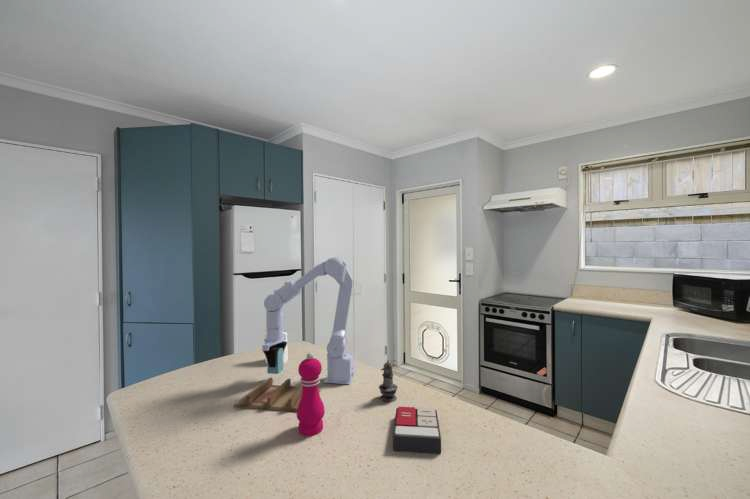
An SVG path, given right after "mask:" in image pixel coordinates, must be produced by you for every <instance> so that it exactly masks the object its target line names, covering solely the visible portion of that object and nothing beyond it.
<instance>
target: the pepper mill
mask: <svg viewBox="0 0 750 499" xmlns="http://www.w3.org/2000/svg"><path fill="white" fill-rule="evenodd" d="M322 369H323V368H322V363H321V361H320V360H319V359H317V358H314V353H312V352H307V354H306V358H305V359H303V360H301V361H300V363H299V365H298V375H299V376H300V377H301V378H299V380H300V386H301V385H302V389H303V390H302V397H301V400H300V402H299V405H298V408H297V412H296V418H297V420H298V421H299V422H298V433H300V434H301V435H303V436H307V437H308V436H309V437H310V436H315V435H318V434H319V433H321V432H322V431H323V429H324V421H323V418H324V416H325V413H326V412H325V410H326V409H325V405H324V401H323V400H322V398H321V395H320V392H319V391H318V388H319V384H320V382H321V376H320V374H321V373H322Z"/></svg>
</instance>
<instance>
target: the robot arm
mask: <svg viewBox="0 0 750 499" xmlns="http://www.w3.org/2000/svg"><path fill="white" fill-rule="evenodd" d="M348 268H349V267H348V266H347V264H346V262H344V261H343V260H342V259H341V258H339V257H336V256H335V257H330V258H328V259H326V260H325V261H323V262H321V263H319V264H317V265H315V266H314V267H313V268H311V269H310V270H309V271H307V272H306V273H304V275H302V276H300V278H298V279H297V280H286V281H285V282H283V283H284V285H282V286H281V287H280V288H278V289H274V290H273V293H272V294H268V295H267V296H266V298H265V299H264V301H263V306H264V308H265V310H266V312H265V313H266V316H265V319H266V320H265V322H266V325H265V326H266V333H267V338H266V339H265V338H264V339H263V342H264V343H263V344H262V347H261V348H262V353H263V354H264V355H266V358H267V361H268V364H269V367H276V360H277V354H278V351H279V349H280V348H283V353H284V349H285V347H286V345H287V346H288V341H287V342H285V341H284V340H286V334H283V332H284V313H283V307H284V305H285V304H287V303H288V302H290V301H291V300H293V299H294V298H296V296H298V295H300V294H301V292H302V291H301V290H302V288H303V287H305V286H306V285H308V284H309V283H311V282H312V281H314V279H316V278H318V277H320V276H321V277H322V276H324V277H325V276H327V275H328V276H329V277H331V278H333V279H334V280H335V282H336V283H337V284H338V285H339V289H338V295H337V300H336V308H335V315H334V319H333V321H334V322H333V328H332V331H331V336H330V338H329V342H328V343H327V346H326V352H327V353H326V360H327V361H326V362H327V363H326V364H327V365H326V367H327V368H326V372H327V374H326V378H325V379H324V381H323V383H324V384H339V385H340V384H342V385H350V384H351V383H352V381H353V379H354V377H355V358H354V355H351V354H348V351H347V350H346V345H347V342H348V341H347V338H346V331H347V329H346V328H347V323H348V317H349V312H350V311H349V310H350V304H351V298H352V289H353V284H354V279H353V277H352V275H351V272H350V270H349V269H348Z"/></svg>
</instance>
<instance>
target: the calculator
mask: <svg viewBox="0 0 750 499" xmlns="http://www.w3.org/2000/svg"><path fill="white" fill-rule="evenodd" d="M394 418H395V419H394V424H393V433H392V451H393V452H399V453H400V452H402V453H417V454H434V455H441V454H442V436H441V431H440V429H441V428H440V423H439V418H438V412H437V409H436V408H433V407H417V408H416V407H414V406H397V408H395V417H394Z"/></svg>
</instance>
